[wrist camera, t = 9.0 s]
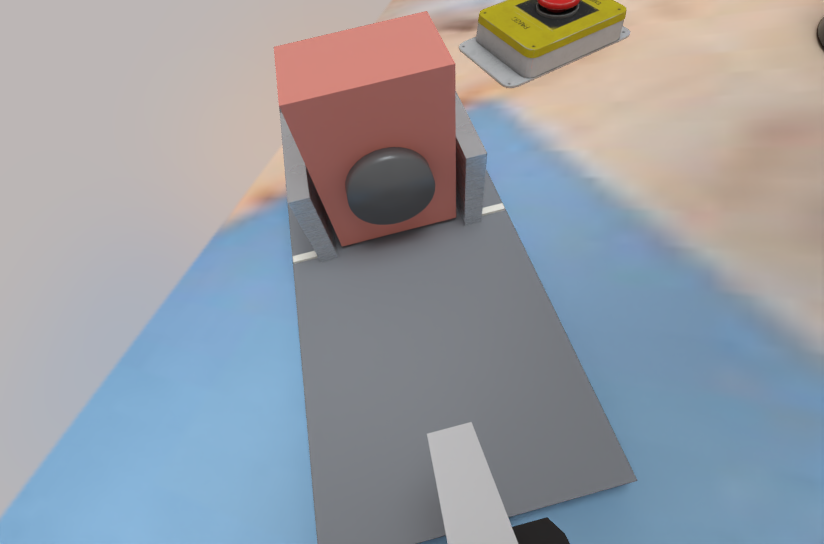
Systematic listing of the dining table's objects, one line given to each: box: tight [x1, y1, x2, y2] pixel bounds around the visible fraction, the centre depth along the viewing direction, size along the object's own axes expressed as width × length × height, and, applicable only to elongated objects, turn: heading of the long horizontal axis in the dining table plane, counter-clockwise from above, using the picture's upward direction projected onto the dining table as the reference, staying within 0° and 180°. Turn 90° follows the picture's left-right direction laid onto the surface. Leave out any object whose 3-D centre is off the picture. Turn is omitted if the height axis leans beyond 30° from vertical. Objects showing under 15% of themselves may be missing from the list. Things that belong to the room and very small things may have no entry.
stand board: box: [285, 170, 637, 544], centre depth 25 cm, size 15×26×2 cm, turn 14°
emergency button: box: [459, 0, 630, 88], centre depth 38 cm, size 9×4×15 cm
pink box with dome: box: [274, 11, 456, 246], centre depth 23 cm, size 8×6×11 cm
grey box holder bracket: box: [279, 91, 487, 262], centre depth 26 cm, size 11×9×6 cm
